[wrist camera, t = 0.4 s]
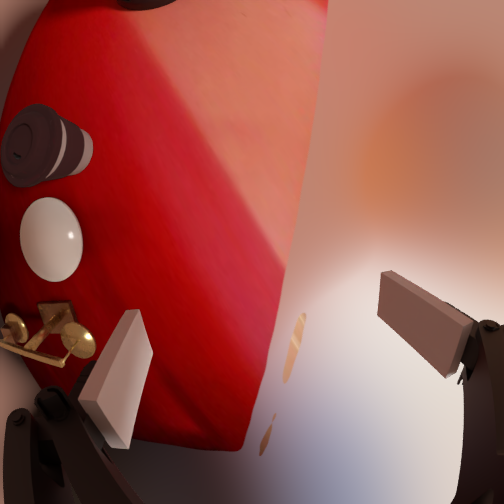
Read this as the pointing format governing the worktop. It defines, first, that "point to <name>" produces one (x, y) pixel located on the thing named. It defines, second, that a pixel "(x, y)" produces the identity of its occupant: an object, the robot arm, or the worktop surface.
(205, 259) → the worktop surface
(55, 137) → the coffee cup
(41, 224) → the saucer
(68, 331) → the balance
